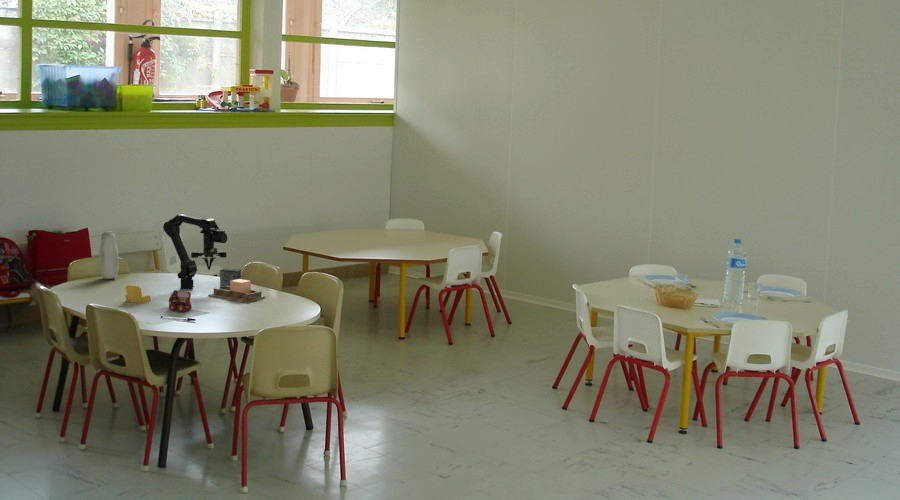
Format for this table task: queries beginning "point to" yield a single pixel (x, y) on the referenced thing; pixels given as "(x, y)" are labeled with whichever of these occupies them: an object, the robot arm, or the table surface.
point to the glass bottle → (108, 255)
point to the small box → (229, 276)
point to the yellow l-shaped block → (136, 294)
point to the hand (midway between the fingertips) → (208, 269)
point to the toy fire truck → (180, 301)
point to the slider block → (240, 286)
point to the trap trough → (236, 295)
